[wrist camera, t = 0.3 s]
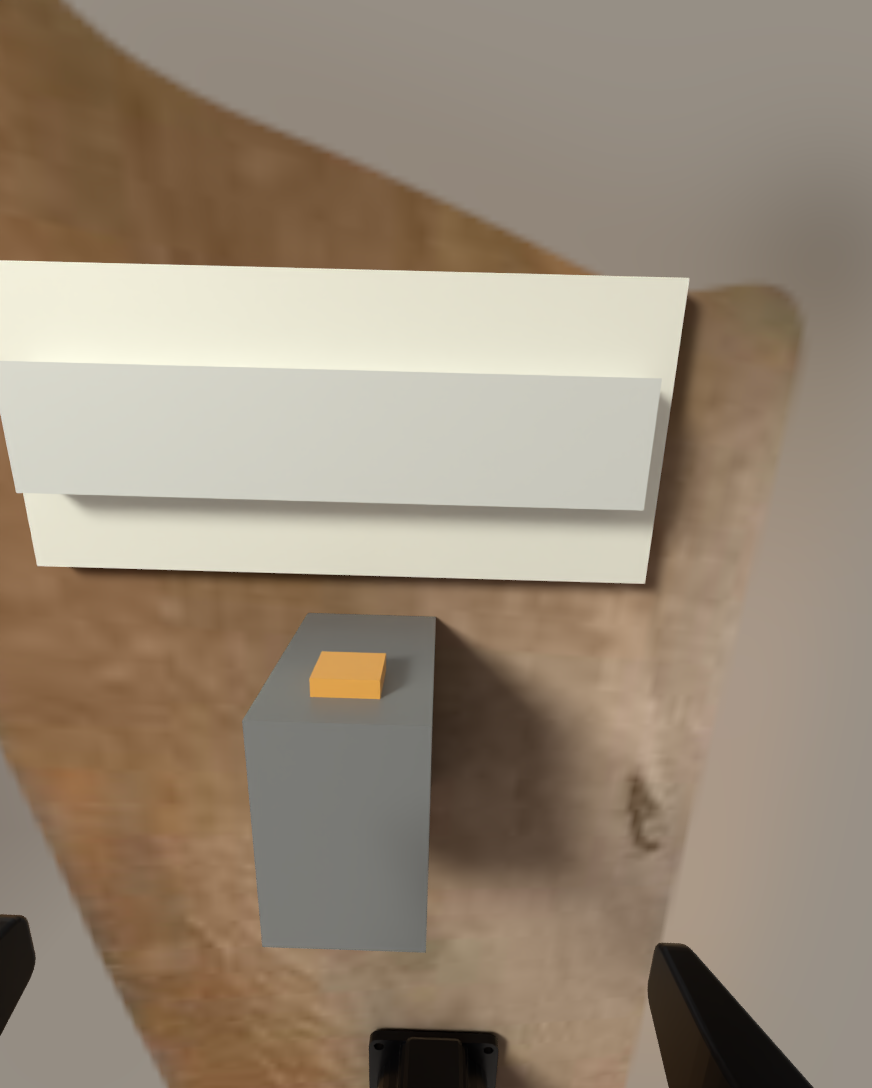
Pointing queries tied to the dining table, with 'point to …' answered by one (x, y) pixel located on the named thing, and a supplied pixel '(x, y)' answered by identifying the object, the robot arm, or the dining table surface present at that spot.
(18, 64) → the dining table surface
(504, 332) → the rail plate
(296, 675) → the din module
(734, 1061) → the robot arm
